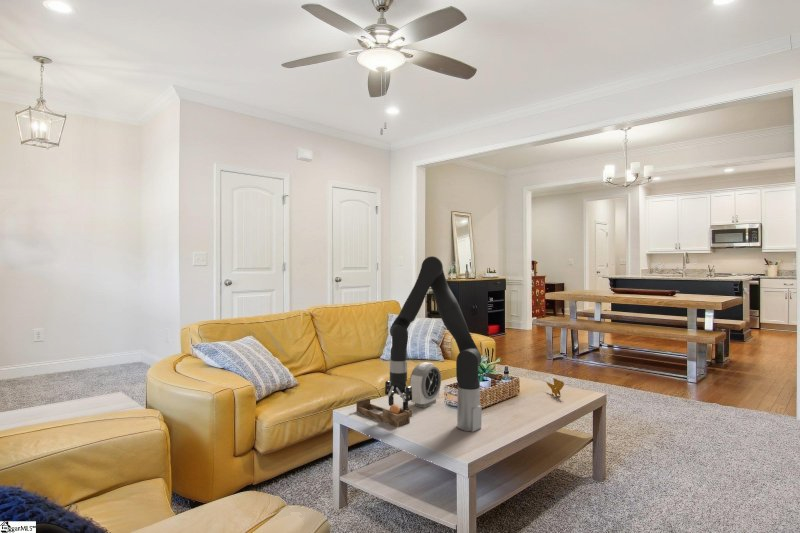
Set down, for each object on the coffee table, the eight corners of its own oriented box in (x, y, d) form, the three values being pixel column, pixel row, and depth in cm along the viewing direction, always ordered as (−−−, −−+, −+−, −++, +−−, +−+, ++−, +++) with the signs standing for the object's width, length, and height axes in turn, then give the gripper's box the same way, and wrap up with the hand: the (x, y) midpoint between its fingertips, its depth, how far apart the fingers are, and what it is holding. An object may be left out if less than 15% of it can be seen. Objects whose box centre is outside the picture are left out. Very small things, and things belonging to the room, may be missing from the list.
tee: (412, 415, 202) (412, 409, 202) (405, 418, 199) (405, 411, 199) (405, 413, 204) (405, 407, 204) (399, 415, 202) (399, 409, 202)
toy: (564, 394, 225) (559, 374, 230) (547, 399, 239) (543, 380, 243) (568, 394, 226) (563, 374, 230) (552, 399, 240) (547, 380, 244)
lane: (409, 423, 193) (409, 411, 192) (397, 427, 187) (397, 415, 187) (368, 408, 212) (368, 397, 212) (356, 411, 206) (356, 401, 206)
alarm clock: (422, 410, 209) (422, 367, 209) (407, 406, 214) (407, 364, 214) (442, 401, 223) (442, 360, 223) (428, 397, 228) (428, 358, 228)
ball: (403, 408, 193) (396, 401, 196) (395, 410, 190) (389, 403, 193) (399, 415, 195) (393, 408, 198) (392, 418, 192) (386, 411, 194)
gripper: (416, 371, 190) (416, 409, 190) (393, 366, 200) (392, 402, 200) (404, 374, 184) (403, 413, 185) (380, 368, 194) (380, 405, 195)
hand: (398, 407), depth 192 cm, fingers open, 8 cm apart
